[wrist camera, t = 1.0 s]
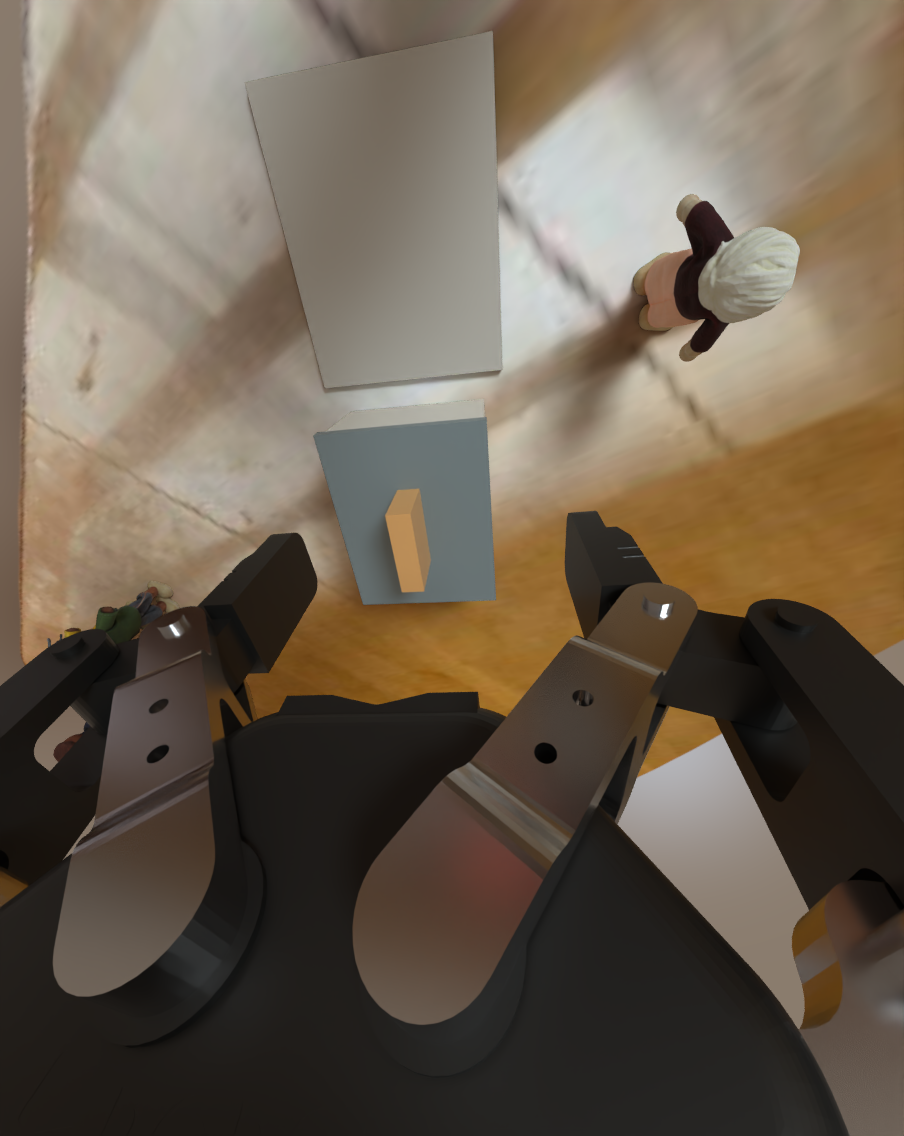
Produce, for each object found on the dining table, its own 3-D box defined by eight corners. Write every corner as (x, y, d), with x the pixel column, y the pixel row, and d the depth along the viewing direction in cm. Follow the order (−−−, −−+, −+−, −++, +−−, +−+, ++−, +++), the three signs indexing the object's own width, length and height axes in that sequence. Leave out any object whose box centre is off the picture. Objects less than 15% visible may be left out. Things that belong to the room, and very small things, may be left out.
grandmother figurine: (701, 326, 27) (835, 339, 17) (645, 358, 28) (737, 389, 18) (671, 200, 24) (818, 117, 13) (609, 243, 25) (698, 198, 15)
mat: (248, 86, 22) (244, 82, 22) (492, 36, 21) (493, 31, 20) (326, 387, 31) (324, 388, 31) (502, 369, 30) (502, 369, 29)
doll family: (210, 698, 56) (142, 794, 45) (147, 689, 56) (63, 783, 45) (167, 568, 43) (57, 659, 32) (85, 555, 43) (-54, 642, 32)
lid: (322, 428, 27) (287, 454, 22) (486, 413, 26) (486, 438, 21) (368, 592, 35) (349, 637, 30) (495, 587, 34) (496, 633, 29)
